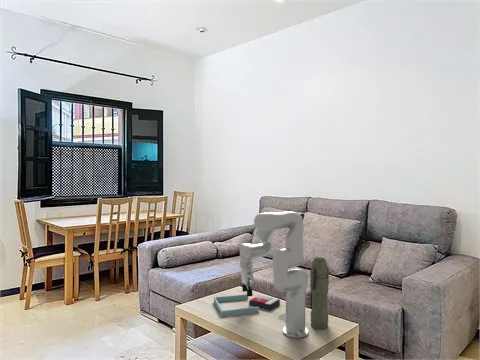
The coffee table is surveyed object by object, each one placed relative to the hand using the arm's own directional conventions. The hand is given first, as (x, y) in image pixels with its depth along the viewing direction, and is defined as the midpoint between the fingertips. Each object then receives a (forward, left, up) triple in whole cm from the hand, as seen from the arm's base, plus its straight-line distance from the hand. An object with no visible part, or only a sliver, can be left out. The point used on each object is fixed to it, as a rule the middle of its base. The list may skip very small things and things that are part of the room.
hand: (247, 293), depth 219 cm
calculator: (0, -10, -8) cm, 13 cm away
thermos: (-35, -29, -8) cm, 46 cm away
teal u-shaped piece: (+1, +6, -8) cm, 10 cm away
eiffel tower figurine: (-20, -19, -8) cm, 29 cm away
